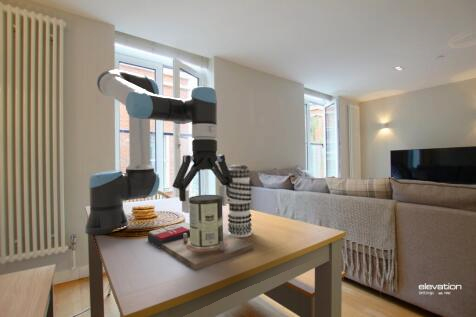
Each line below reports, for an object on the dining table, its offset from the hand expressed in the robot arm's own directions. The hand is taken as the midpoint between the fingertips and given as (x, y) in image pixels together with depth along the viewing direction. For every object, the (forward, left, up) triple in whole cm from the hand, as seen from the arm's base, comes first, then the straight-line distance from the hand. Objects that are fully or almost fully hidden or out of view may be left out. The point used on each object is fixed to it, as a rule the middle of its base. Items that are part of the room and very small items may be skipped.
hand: (205, 208), depth 74 cm
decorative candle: (-4, +17, -13) cm, 21 cm away
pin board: (0, 0, -12) cm, 12 cm away
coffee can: (0, 0, -11) cm, 11 cm away
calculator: (-15, -3, -13) cm, 20 cm away
